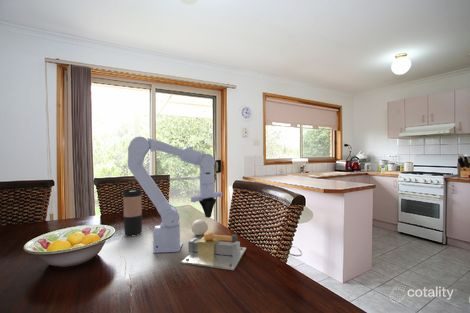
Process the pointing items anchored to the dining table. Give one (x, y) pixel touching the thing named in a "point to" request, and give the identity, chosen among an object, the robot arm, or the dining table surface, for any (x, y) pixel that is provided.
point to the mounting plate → (214, 260)
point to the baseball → (199, 227)
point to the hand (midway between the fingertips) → (208, 216)
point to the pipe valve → (213, 247)
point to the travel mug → (132, 212)
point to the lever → (220, 237)
